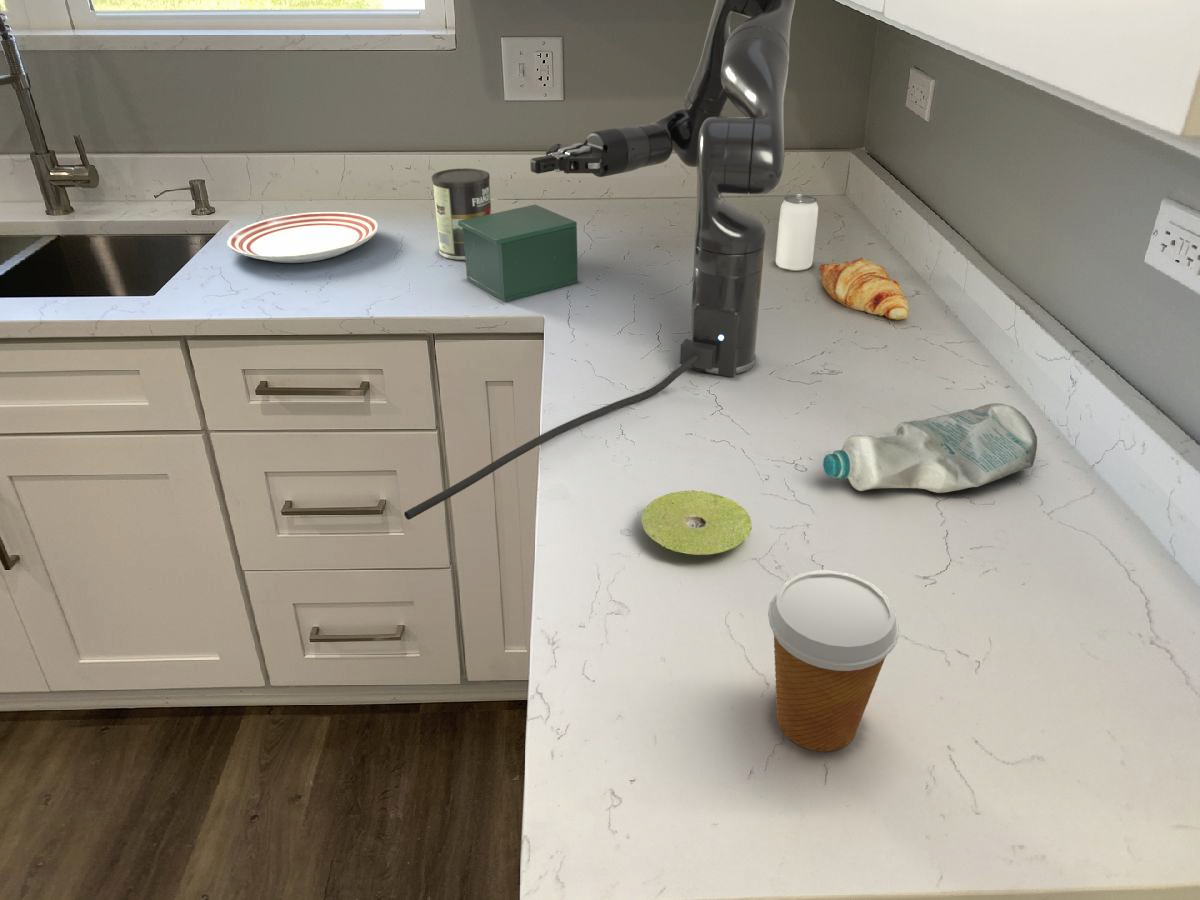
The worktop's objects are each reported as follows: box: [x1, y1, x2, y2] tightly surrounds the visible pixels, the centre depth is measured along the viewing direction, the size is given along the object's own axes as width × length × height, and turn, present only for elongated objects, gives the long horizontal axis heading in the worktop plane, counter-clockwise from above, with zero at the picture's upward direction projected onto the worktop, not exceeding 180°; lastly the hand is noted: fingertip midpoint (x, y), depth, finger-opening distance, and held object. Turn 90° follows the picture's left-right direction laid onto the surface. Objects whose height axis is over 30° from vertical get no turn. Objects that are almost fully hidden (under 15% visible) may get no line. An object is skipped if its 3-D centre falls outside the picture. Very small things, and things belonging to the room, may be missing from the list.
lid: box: [458, 204, 578, 245], centre depth 153 cm, size 15×13×1 cm
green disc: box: [641, 490, 752, 556], centre depth 95 cm, size 11×11×2 cm
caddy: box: [463, 226, 579, 303], centre depth 156 cm, size 15×13×10 cm
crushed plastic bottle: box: [822, 402, 1038, 494], centre depth 103 cm, size 13×7×25 cm
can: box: [775, 193, 819, 272], centre depth 162 cm, size 6×6×12 cm
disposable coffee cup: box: [767, 569, 900, 752], centre depth 71 cm, size 10×10×12 cm
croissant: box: [819, 257, 910, 320], centre depth 149 cm, size 21×10×8 cm, turn 26°
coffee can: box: [431, 167, 492, 261], centre depth 169 cm, size 10×10×14 cm
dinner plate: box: [226, 211, 379, 264], centre depth 174 cm, size 28×27×3 cm
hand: (533, 166), depth 151 cm, fingers closed
